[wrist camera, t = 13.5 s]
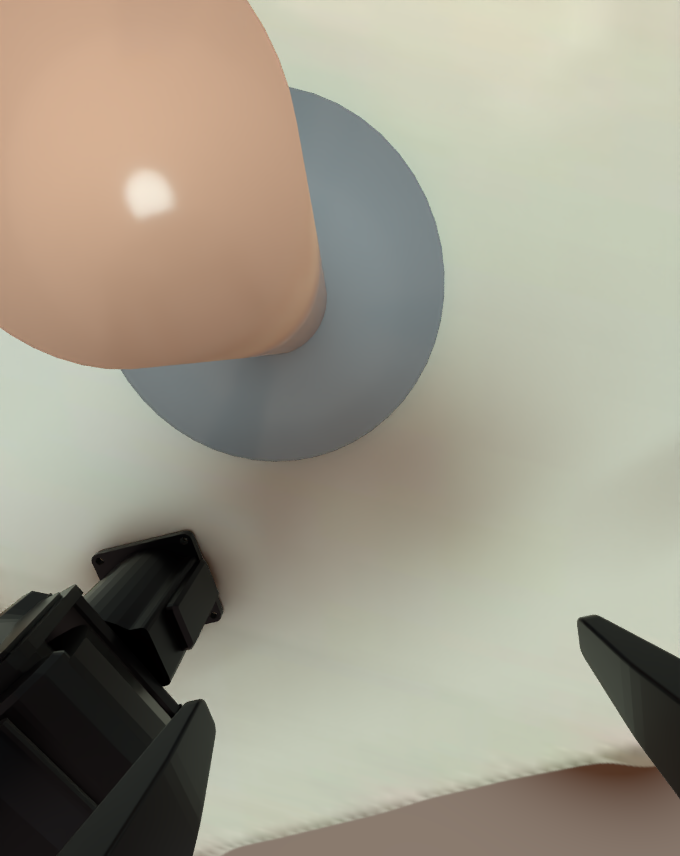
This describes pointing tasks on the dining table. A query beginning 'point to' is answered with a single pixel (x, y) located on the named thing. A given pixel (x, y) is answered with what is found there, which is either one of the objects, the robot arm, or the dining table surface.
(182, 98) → the peach cylinder
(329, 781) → the dining table surface
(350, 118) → the plate
